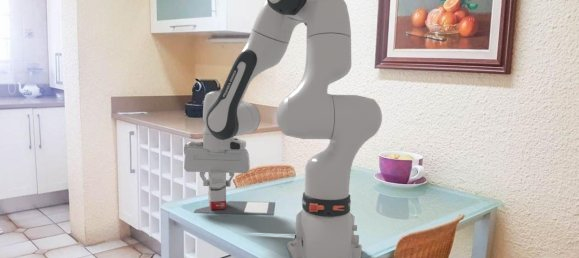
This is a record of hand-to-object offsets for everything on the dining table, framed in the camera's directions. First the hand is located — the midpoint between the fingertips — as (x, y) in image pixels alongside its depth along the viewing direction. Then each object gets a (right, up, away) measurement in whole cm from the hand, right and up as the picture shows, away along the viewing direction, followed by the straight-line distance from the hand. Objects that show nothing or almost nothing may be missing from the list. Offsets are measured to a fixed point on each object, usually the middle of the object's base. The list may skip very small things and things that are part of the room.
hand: (217, 186), depth 145 cm
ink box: (0, -7, +1) cm, 7 cm away
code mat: (+6, -7, +1) cm, 9 cm away
